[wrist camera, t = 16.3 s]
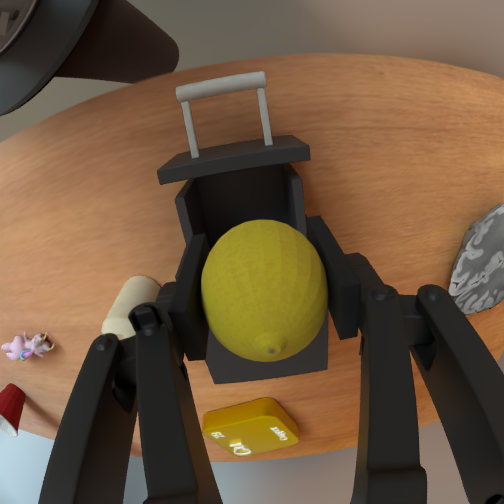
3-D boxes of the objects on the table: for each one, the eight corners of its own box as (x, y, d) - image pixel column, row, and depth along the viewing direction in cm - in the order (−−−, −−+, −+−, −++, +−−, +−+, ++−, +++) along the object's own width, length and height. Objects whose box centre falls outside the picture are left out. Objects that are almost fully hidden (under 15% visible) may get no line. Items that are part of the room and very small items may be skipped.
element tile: (299, 426, 54) (302, 445, 50) (236, 442, 57) (236, 459, 53) (271, 394, 48) (273, 416, 44) (199, 413, 51) (197, 433, 46)
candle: (161, 275, 36) (139, 329, 27) (165, 310, 39) (149, 366, 30) (120, 273, 36) (91, 324, 27) (128, 307, 38) (104, 360, 29)
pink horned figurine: (45, 319, 41) (-2, 334, 40) (33, 341, 36) (-13, 353, 35) (63, 345, 44) (16, 357, 43) (54, 368, 39) (6, 377, 38)
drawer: (165, 95, 25) (139, 93, 18) (283, 74, 25) (298, 64, 18) (205, 269, 35) (196, 312, 28) (304, 254, 34) (320, 295, 27)
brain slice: (425, 245, 35) (436, 256, 32) (503, 182, 31) (516, 189, 28) (451, 325, 43) (458, 336, 40) (515, 271, 38) (524, 280, 36)
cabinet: (191, 230, 33) (174, 277, 25) (305, 212, 33) (327, 254, 24) (219, 328, 40) (214, 384, 32) (312, 315, 40) (327, 369, 31)
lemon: (324, 256, 17) (369, 358, 10) (245, 300, 19) (247, 410, 12) (276, 178, 15) (307, 251, 8) (189, 232, 16) (155, 334, 9)
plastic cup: (18, 379, 49) (-1, 415, 38) (39, 406, 54) (25, 441, 43) (-6, 372, 49) (-25, 405, 38) (15, 399, 54) (0, 430, 43)
